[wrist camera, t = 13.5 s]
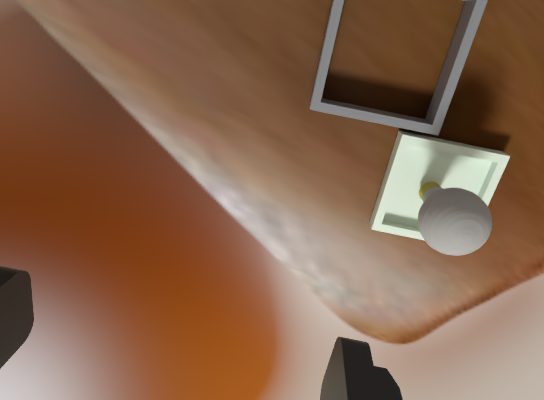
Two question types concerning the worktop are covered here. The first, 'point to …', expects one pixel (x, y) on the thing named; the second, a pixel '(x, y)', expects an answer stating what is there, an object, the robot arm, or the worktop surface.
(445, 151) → the tray
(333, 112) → the case
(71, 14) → the worktop surface
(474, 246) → the light bulb
